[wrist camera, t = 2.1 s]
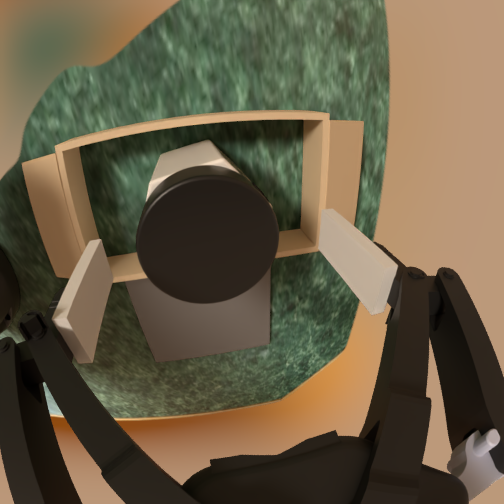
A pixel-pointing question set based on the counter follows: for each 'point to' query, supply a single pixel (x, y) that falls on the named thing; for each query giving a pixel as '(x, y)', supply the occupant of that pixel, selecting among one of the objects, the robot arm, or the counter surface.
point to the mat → (201, 321)
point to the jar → (204, 227)
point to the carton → (68, 155)
